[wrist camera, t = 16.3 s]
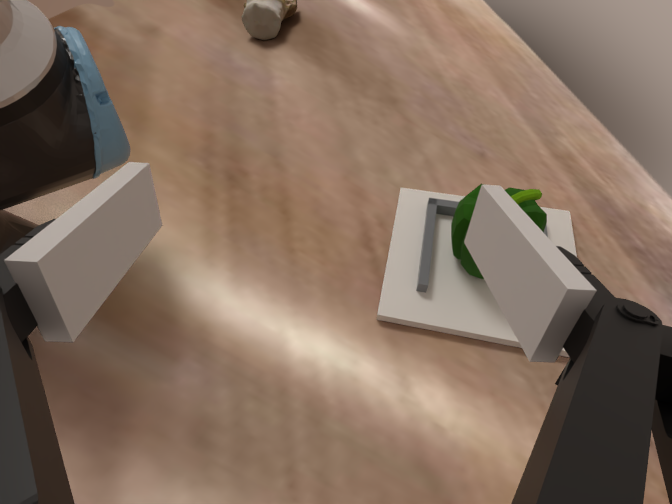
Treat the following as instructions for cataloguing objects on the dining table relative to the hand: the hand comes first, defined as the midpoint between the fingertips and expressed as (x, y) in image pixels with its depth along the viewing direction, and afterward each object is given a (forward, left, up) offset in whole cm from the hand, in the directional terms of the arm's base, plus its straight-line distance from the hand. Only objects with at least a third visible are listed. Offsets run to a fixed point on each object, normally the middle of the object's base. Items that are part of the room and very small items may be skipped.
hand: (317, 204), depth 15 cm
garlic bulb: (-29, +66, -25) cm, 76 cm away
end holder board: (+13, +16, -24) cm, 32 cm away
